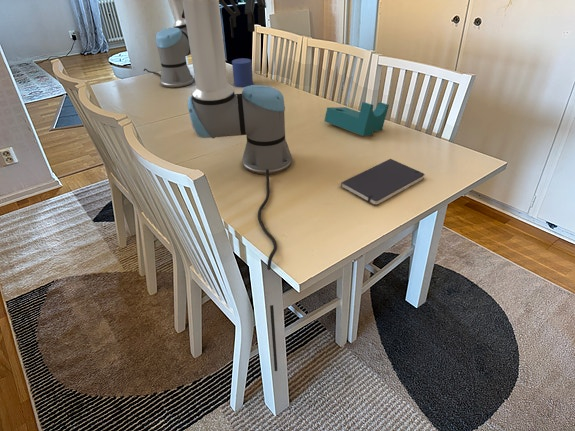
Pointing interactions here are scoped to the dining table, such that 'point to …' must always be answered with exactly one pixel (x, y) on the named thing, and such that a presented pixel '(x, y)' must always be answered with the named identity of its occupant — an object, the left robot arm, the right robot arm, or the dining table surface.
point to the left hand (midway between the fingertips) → (256, 28)
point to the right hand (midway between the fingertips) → (214, 38)
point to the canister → (242, 72)
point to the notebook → (382, 181)
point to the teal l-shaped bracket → (358, 118)
